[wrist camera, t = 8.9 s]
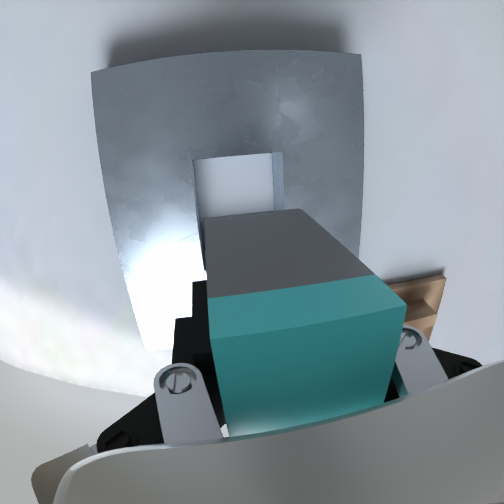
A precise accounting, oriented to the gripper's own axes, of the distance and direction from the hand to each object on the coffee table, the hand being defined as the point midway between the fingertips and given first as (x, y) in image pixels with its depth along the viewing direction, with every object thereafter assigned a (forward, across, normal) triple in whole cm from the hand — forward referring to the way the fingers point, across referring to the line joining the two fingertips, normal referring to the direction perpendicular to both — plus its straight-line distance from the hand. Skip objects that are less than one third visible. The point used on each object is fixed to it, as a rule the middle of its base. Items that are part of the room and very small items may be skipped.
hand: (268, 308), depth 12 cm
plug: (+2, 0, 0) cm, 2 cm away
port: (+15, 0, 0) cm, 15 cm away
